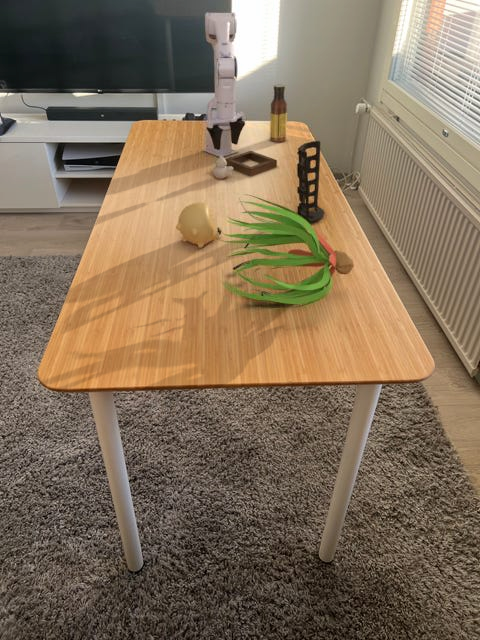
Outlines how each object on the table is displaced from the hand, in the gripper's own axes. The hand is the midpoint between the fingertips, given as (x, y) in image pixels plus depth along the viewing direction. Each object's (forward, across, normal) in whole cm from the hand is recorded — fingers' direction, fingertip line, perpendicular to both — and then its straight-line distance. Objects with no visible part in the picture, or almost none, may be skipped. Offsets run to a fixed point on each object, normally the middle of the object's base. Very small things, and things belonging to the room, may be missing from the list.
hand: (225, 146), depth 164 cm
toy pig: (+10, -36, -29) cm, 47 cm away
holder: (+10, -3, -38) cm, 39 cm away
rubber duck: (+10, -2, -1) cm, 10 cm away
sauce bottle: (+10, +40, +14) cm, 44 cm away
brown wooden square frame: (+10, +12, 0) cm, 16 cm away
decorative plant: (+10, -39, -60) cm, 72 cm away
